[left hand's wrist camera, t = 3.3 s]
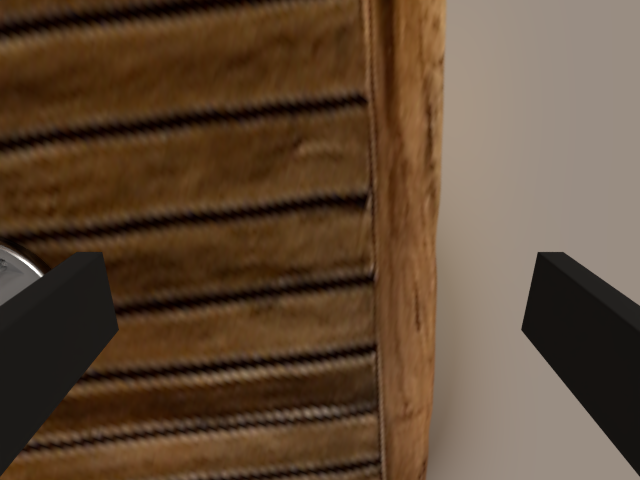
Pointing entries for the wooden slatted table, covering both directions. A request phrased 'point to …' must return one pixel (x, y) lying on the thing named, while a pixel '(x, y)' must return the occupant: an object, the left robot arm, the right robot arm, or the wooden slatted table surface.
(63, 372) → the left robot arm
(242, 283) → the wooden slatted table surface
